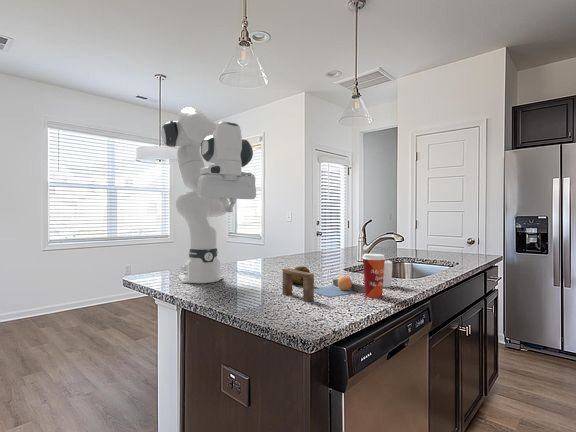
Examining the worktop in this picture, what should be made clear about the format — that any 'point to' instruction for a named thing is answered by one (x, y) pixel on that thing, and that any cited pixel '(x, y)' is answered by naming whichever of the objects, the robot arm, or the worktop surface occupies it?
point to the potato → (296, 278)
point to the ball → (344, 283)
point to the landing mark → (331, 291)
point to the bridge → (307, 283)
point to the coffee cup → (373, 274)
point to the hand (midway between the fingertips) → (227, 212)
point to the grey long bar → (354, 286)
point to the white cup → (387, 273)
